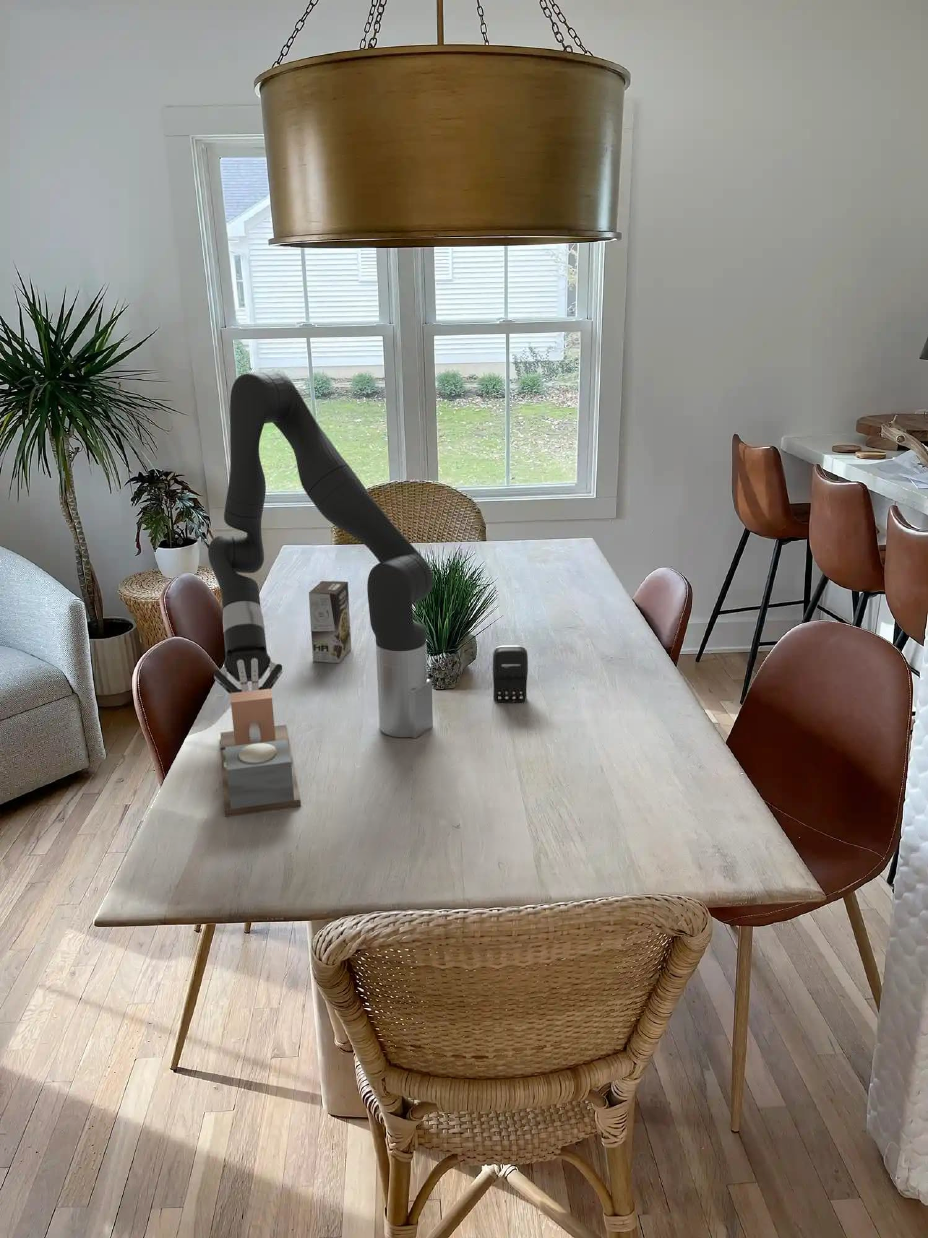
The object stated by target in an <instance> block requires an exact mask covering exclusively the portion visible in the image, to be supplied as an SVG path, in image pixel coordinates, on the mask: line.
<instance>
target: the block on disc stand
mask: <svg viewBox="0 0 928 1238" xmlns="http://www.w3.org/2000/svg"><path fill="white" fill-rule="evenodd" d="M229 696H230V697H229V698H230V709H231V716H232V717H231V718H232V729H233V731H234V738H235V746H237V745H245V744H253V743H262V742H270V741H276V738H275V727H274V726H275V716H274V705H273V696H272V688H271V689H263V690H254V691H252V690H249V691H245V692H236V693H230V694H229ZM228 747H229V746H228ZM219 749H220V751H221V750H225V747H221V746H220V748H219Z"/></svg>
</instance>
